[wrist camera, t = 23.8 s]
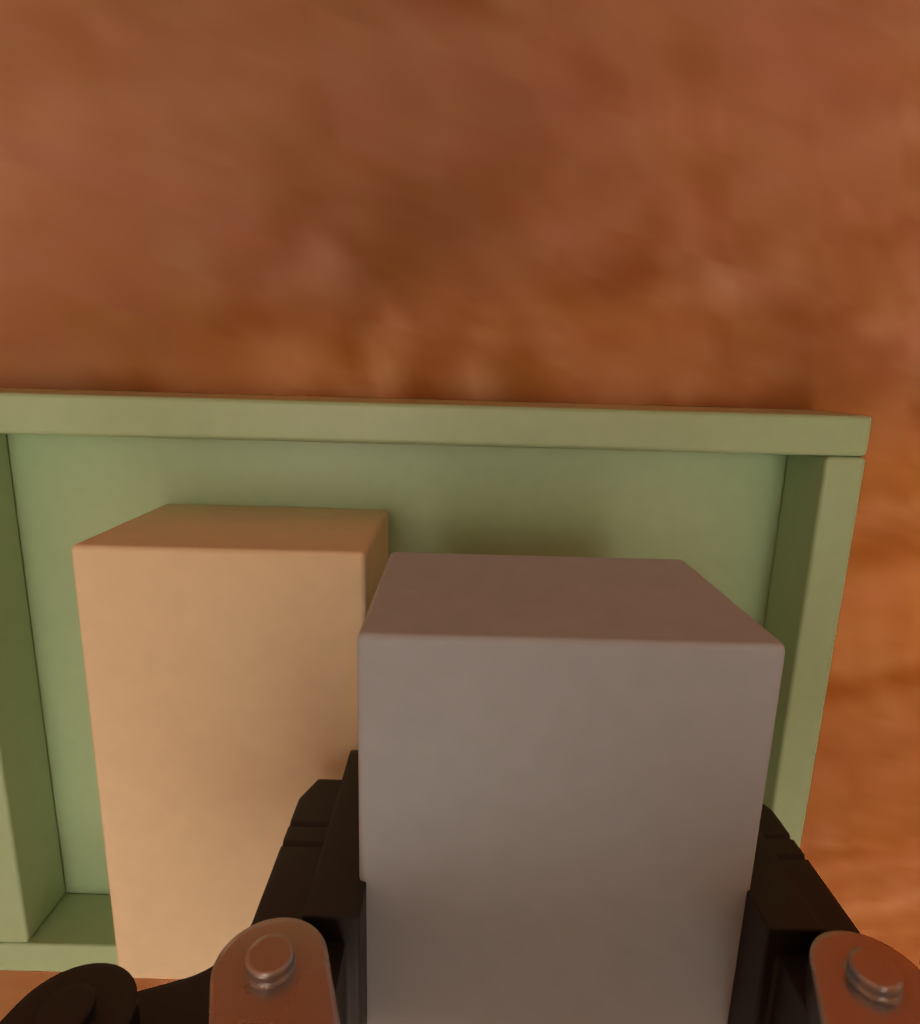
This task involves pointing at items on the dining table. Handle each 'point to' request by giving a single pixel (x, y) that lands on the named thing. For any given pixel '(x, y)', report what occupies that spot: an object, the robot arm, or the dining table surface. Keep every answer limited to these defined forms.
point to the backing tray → (411, 528)
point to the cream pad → (216, 705)
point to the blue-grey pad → (558, 789)
